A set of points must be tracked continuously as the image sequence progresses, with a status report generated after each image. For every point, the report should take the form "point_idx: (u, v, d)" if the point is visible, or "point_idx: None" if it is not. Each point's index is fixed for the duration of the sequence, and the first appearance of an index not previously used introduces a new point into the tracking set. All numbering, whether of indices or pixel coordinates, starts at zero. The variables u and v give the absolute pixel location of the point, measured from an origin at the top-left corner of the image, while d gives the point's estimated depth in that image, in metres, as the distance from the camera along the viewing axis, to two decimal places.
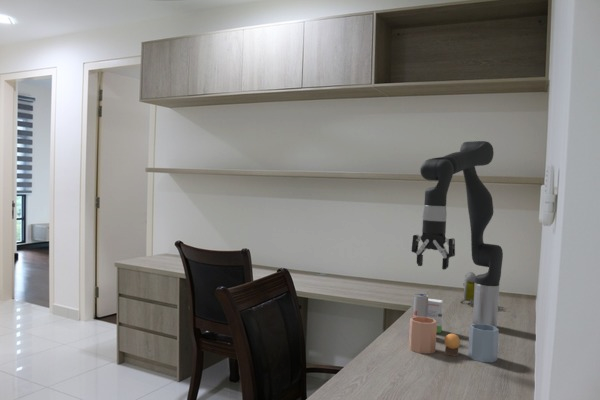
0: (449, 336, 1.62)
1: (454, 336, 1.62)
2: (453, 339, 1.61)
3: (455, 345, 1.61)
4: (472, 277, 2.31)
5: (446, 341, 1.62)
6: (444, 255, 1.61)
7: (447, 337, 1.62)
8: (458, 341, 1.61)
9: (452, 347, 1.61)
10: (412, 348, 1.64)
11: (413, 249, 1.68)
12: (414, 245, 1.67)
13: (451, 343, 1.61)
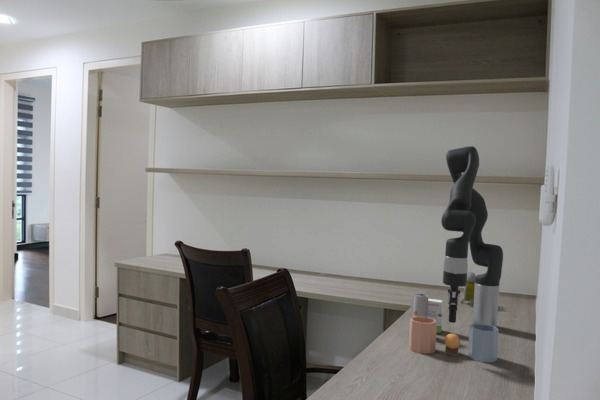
0: (449, 336, 1.62)
1: (454, 336, 1.62)
2: (453, 339, 1.61)
3: (455, 345, 1.61)
4: (472, 277, 2.31)
5: (446, 341, 1.62)
6: None
7: (447, 337, 1.62)
8: (458, 341, 1.61)
9: (452, 347, 1.61)
10: (412, 348, 1.64)
11: None
12: (457, 302, 1.56)
13: (451, 343, 1.61)
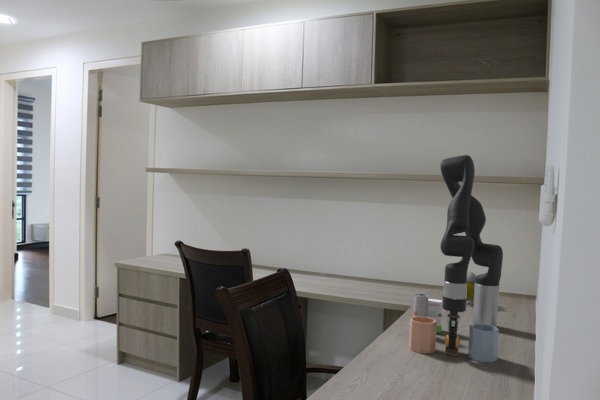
0: None
1: None
2: None
3: None
4: (472, 277, 2.31)
5: (446, 341, 1.62)
6: None
7: (447, 337, 1.62)
8: (458, 341, 1.61)
9: None
10: (412, 348, 1.64)
11: (456, 334, 1.58)
12: (456, 330, 1.58)
13: None
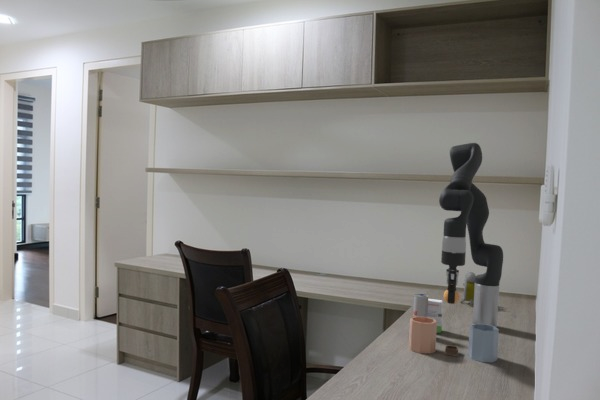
0: None
1: None
2: None
3: (455, 299, 1.60)
4: (472, 277, 2.31)
5: (445, 296, 1.62)
6: None
7: (446, 292, 1.62)
8: (457, 295, 1.61)
9: None
10: (412, 348, 1.64)
11: (455, 288, 1.57)
12: (455, 283, 1.57)
13: None
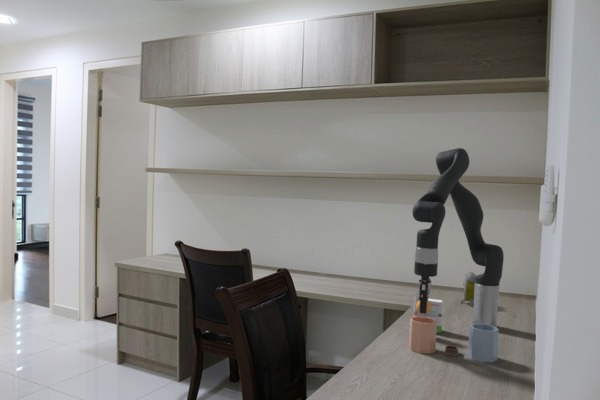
0: None
1: None
2: None
3: None
4: (472, 277, 2.31)
5: (417, 306, 1.65)
6: (428, 295, 1.68)
7: (418, 302, 1.65)
8: (429, 305, 1.64)
9: None
10: (412, 348, 1.64)
11: (427, 298, 1.60)
12: (427, 294, 1.60)
13: None
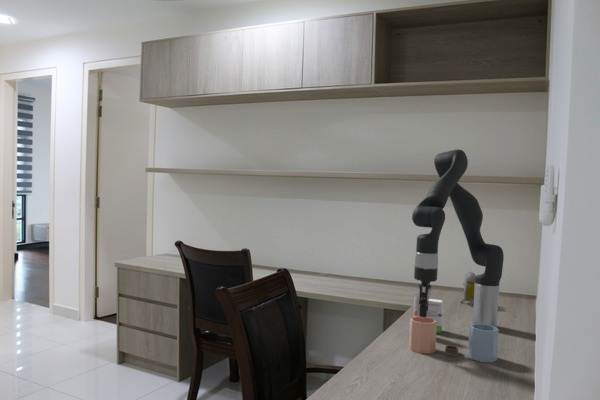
0: None
1: None
2: None
3: None
4: (472, 277, 2.31)
5: None
6: None
7: None
8: None
9: None
10: (412, 348, 1.64)
11: (427, 302, 1.59)
12: (427, 297, 1.59)
13: None
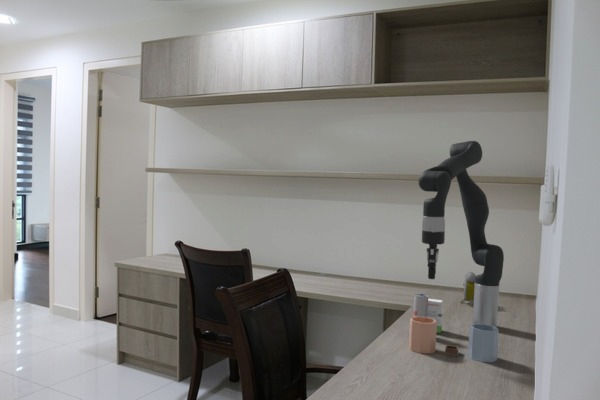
0: None
1: None
2: None
3: None
4: (472, 277, 2.31)
5: None
6: (436, 261, 1.73)
7: None
8: None
9: None
10: (412, 348, 1.64)
11: (435, 264, 1.62)
12: (435, 259, 1.62)
13: None
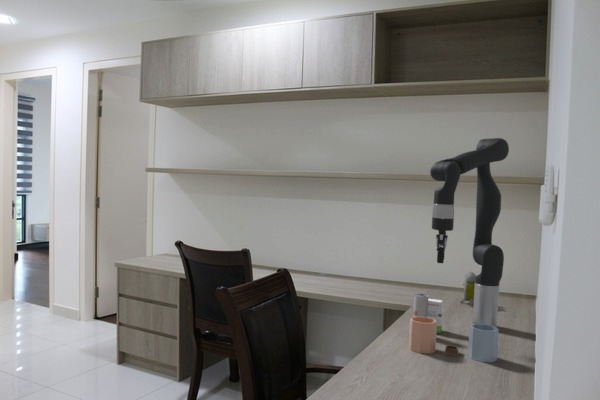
0: None
1: None
2: None
3: None
4: (472, 277, 2.31)
5: None
6: None
7: None
8: None
9: None
10: (412, 348, 1.64)
11: (444, 248, 1.72)
12: (444, 244, 1.72)
13: None
